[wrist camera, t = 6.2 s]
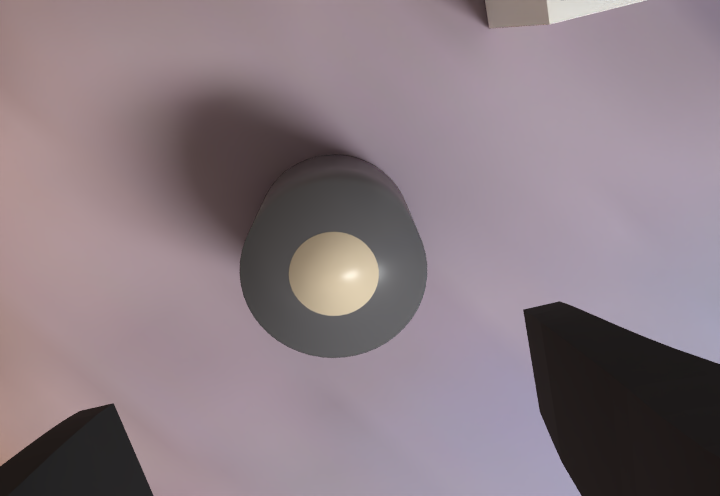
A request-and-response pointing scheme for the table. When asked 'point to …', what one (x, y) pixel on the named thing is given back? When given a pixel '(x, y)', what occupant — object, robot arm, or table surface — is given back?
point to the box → (544, 11)
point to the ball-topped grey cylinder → (333, 259)
